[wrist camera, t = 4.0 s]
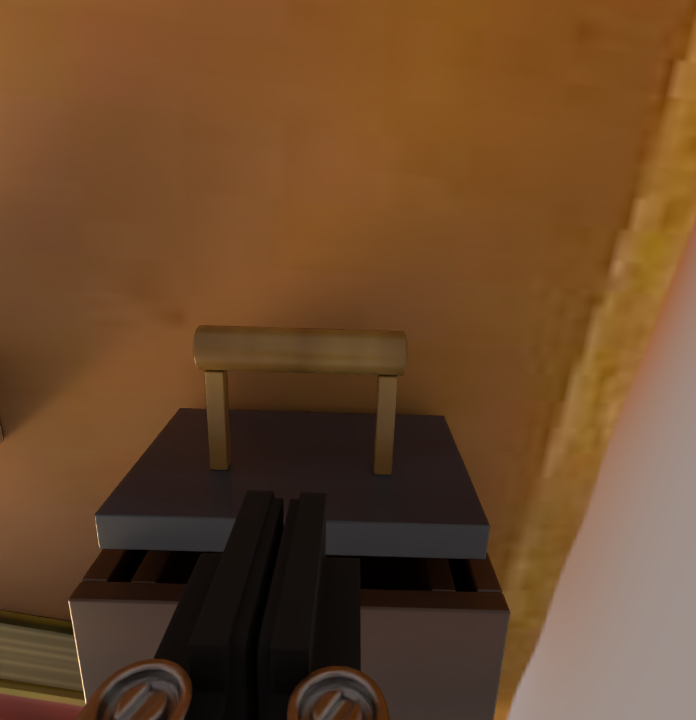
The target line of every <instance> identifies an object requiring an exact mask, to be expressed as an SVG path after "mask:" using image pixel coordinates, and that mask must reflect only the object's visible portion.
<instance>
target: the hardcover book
mask: <svg viewBox="0 0 696 720" xmlns="http://www.w3.org/2000/svg"><path fill="white" fill-rule="evenodd" d="M85 705H86V704H85V698H84V692H83V686H82V680H81V674H80V668H79V663H78V657H77V651H76V645H75V639H74V633H73V627H72V622H68V621H62V620H56V619H50V618H44V617H38V616H32V615H26V614H20V613H14V612H8V611H2V610H0V720H75V719H76V718H77V716H78V715H79V713H80V712H81V711H82V709H83V708H84V706H85Z"/></svg>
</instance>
